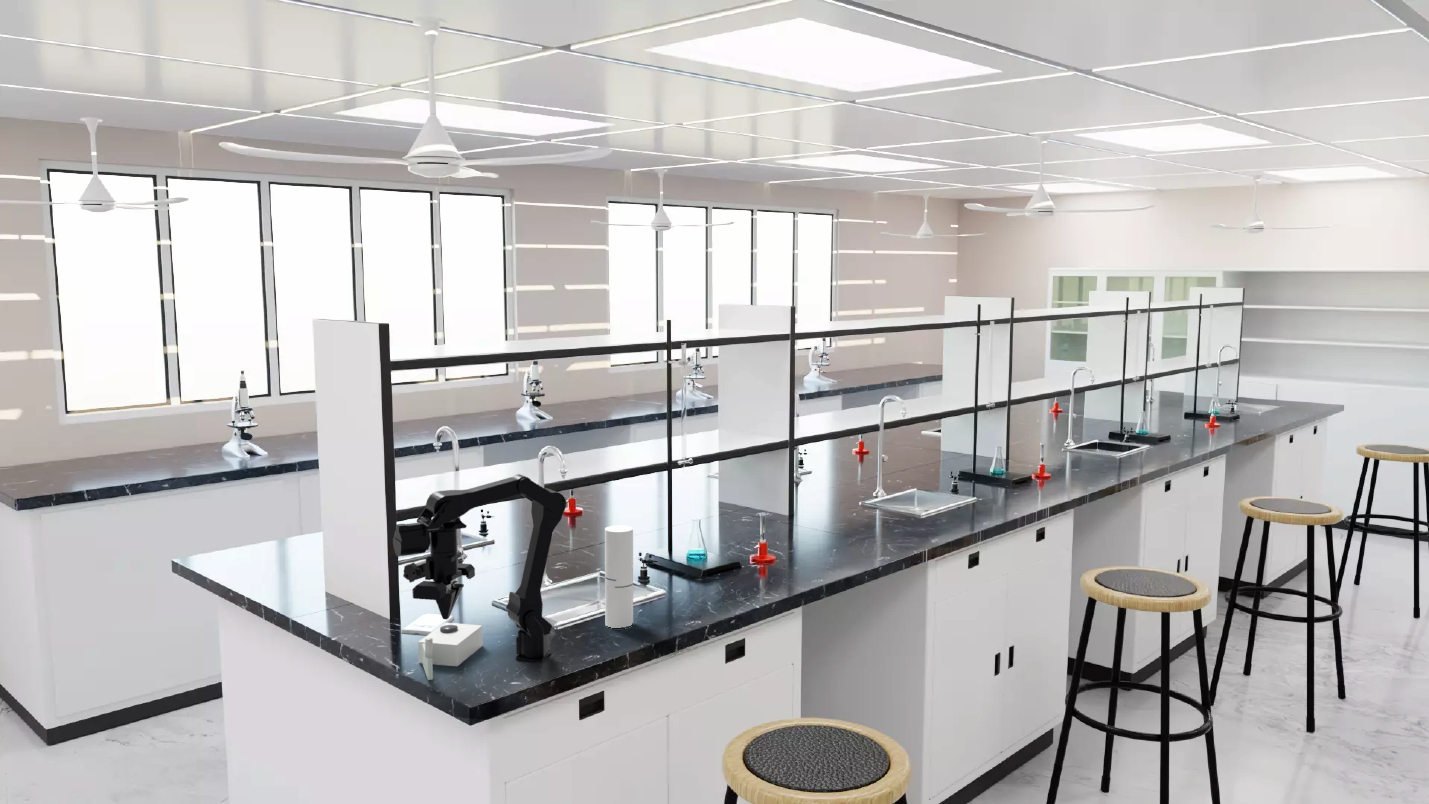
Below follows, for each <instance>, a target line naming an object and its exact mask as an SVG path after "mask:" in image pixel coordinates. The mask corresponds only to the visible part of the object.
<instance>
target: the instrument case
mask: <svg viewBox="0 0 1429 804" xmlns="http://www.w3.org/2000/svg"><path fill="white" fill-rule="evenodd" d="M426 638H433V657H432V665H436V666H437V665H438V666H448V667H450V666H451V667H458V666H460V665H461V664H462V663H464V661H466V660H467V659H468V658H470V657H471V656H472V655H473V654H474V653H476V652H477V651H478V650H479V649H480V648H482V647H483V645H484V644H483V642H484V641H483V625H480V624H469V623H468V624H467V623H456V622H449V623H444V624H443V625H441V626H440V627H438V628H437V629H436V630H434V631H433V632H431V633H430V634H429V635H425V636H424V637H423V638H421V639H420V640H419V641H417V652H418V664H423V663H422V644H424V643H425V639H426Z"/></svg>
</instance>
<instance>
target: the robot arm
mask: <svg viewBox="0 0 1429 804" xmlns="http://www.w3.org/2000/svg"><path fill="white" fill-rule="evenodd" d="M519 495H521V496H522V497H524V498H525V499H526V500H528V501H530V502H531V510H530V512H531V518H532V525H533V526H532V531H531V535H530V540H529V546H528V550H527V555H526V558H525V559H526V560H525V564H524V569H523V573H522V576H521V577H522V578H521V581H520V586H519V587H518V588H517V590H516V591H515V592H514V591H510V592H509V595H508V602H507V604H506V607H505V609H506V610H507V616H508V617H509V619H510V621H511V622H513V623H514V625H516V628H517V629H519V630H518V631H517V637H516V638H515V641H516V642H515V652H516V656H515V660H519V661H528V662H540V663H541V662H543V661H544V660H546V658H547V657H548V656H549V655H550V654H552V650H550V649H549V635H550V634H551V630H552V628H553V625H552V624H551V623H550V622H549V621H548V620H546V619H545V618H544V617H543V608H544V606H543V598H542V592H541V589H542V584H543V580H544V576H545V575H544V574H545V571H546V566H547V563H548V562H547V561H548V558H549V557H548V556H549V553H550V548H551V545H552V544H551V543H552V539H553V534H554V531H555V529H556V528H557V526H558V525H559V524H560V522H561V521H562V519H563V516H564V513H565V511H566V509H567V508H566V507H567V499H566V497H565V496H564V495H563V494H561V492H558V491H555V490H552V489H550V488H548V487H543V486H541V485H539V484H538V483H536V482H534V481H533V480H531V478H529V477H527V476H526V475H523V474H518V473H517V474H515V475H513V476H510V477H506V478H503V479H500V480H496V481H493V482H489V483H485V484H482V485H478V486H475V487H471V488H468V489H447V490H437V491H434V492H432V493H430V495H429V497H427V499H426V502H425V507H424V508H423V510H422V512H421V513H420V515H419V516H418V518H417V519H416V522H411V523H398V524H396V525H395V531H394V535H393V537H392V545H393V550H394V551H393V552H394V553H395V555H396V557H398V558H399V557H405V556H406V557H407V556H413V555H418V554H419V555H420V554H424V553H426V551H428V550H430V552H429V553H430V554H428V555H427V556H426V557H425V560H422V561H419V562H417V563H415V562H411V563H408V564H406V565H404V566H403V568H404V569H403V576H402V577H403V578H405V580H407V581H409V583H413V582H415V581H418V580H419V579H424V580H423V581H421V582H419V583H418V584H416V585H415V586H413V588H412V599H415V600H428V601H430V600H431V601H435V603H436V605H437V607H438V610H439V612H440V615H442V618H443V619H448V618H449V617H450V615H452V612H453V609H454V607H455V604H456V603H457V600H458V599H459V596H460V594H461V592H462V589H463V588H464V586H465V584H463V583H459V581H458V580H457V579H459V578H461V577H462V576H463V577H464V576H465V578H466V579H467V580H471V579H472V578H474V577H475V576H476V568H475V567H474V566H473V565H472V564H471V563H462V562H460V563H459V562H458V561H459V559H460V558H461V557H462V551H458V530H461V529H466V528H467V524H466V523H464V522H463V521H462V520H461V519H460V518H461V517H462V516H465V514H467V513H468V512H469V511H471V510H473V509H475V508H478V507H481V506H482V507H483V506H485V505H489V504H491V503H495V502H498V501H503V500H505V499H509V498H512V497H517V496H519ZM431 580H432V581H431Z"/></svg>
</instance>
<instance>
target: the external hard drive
mask: <svg viewBox="0 0 1429 804" xmlns="http://www.w3.org/2000/svg"><path fill="white" fill-rule="evenodd" d="M454 619H455V617H454V615H452V614H450V617H449V618H448V619H443V618H442V615H441V613H440V614H439V613H438V614H437V613H436V614H435V613H424V614H422V615H421V616H419V617H418V618H417V619H415V620H414V621H412V622H411V623H409V624H408V625H407V626H405V627H404V628H402V629H401V634H409V635H422V636H423V635H424V636H427V635H429V634H430V633H431V632H433V631H434V630H436V629H437V628H438V627H440V626H441V625H443V624H444V623H452V621H454Z"/></svg>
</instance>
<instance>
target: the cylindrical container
mask: <svg viewBox="0 0 1429 804" xmlns="http://www.w3.org/2000/svg"><path fill="white" fill-rule="evenodd" d="M604 599H605V600H604V603H605V605H604V606H605V607H604V613H605V614H604V618H605V619H604V620H605V621H604V622H605V623H604V624H605V627H606V626H608V627H611V628H610V629H612V628H621V627H626V626H631V625H632V623H633V624H634V527H632V526H629V525H622V524H621V525H620V524H619V525H609V526H607V527H604ZM608 627H607V628H608ZM631 627H632V626H631Z"/></svg>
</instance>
